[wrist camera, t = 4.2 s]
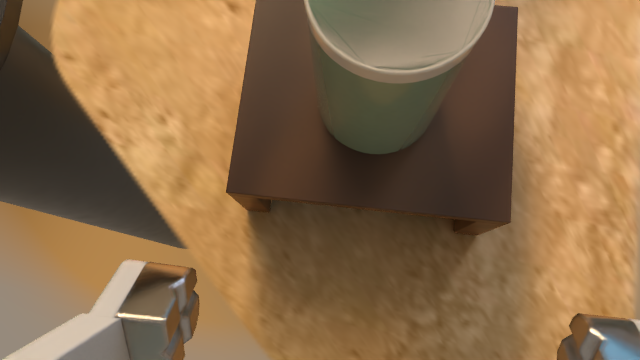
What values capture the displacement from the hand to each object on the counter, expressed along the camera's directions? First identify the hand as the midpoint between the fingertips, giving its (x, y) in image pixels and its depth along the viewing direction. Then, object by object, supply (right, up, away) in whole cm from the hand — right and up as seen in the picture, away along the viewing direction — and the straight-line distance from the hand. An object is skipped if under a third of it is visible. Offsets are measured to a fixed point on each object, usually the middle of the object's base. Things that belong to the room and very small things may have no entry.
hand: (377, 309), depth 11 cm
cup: (+2, +7, +16) cm, 17 cm away
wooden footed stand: (+2, +6, +22) cm, 22 cm away
